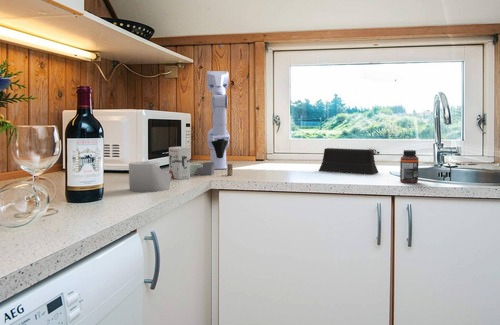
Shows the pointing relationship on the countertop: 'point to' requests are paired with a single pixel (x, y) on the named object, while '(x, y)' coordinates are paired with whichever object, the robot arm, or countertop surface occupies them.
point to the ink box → (179, 162)
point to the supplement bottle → (409, 167)
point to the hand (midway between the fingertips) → (219, 158)
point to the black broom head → (349, 161)
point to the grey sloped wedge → (148, 177)
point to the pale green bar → (195, 168)
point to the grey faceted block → (206, 169)
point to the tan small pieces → (228, 169)
